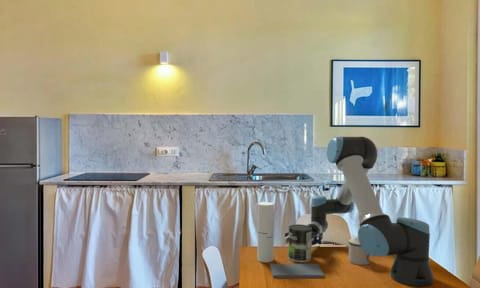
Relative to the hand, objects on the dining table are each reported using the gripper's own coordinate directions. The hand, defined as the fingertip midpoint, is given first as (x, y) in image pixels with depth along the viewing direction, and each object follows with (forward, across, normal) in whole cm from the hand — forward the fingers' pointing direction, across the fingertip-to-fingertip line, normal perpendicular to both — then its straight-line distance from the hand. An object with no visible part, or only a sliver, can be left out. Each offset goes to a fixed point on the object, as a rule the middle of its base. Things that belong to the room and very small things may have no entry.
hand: (296, 243), depth 162 cm
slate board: (+11, -4, -8) cm, 14 cm away
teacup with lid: (-15, -24, -8) cm, 29 cm away
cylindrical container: (+5, +13, -8) cm, 16 cm away
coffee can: (-4, 0, -8) cm, 9 cm away
